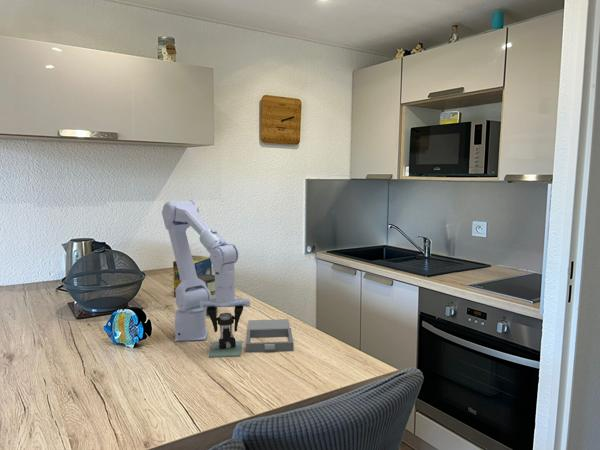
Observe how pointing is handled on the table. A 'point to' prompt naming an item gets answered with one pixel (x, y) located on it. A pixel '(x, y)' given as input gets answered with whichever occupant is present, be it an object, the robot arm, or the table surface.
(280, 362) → the table surface
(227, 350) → the mat
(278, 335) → the equipment case
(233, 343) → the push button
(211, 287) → the coffee can
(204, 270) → the protein box
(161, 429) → the table surface
